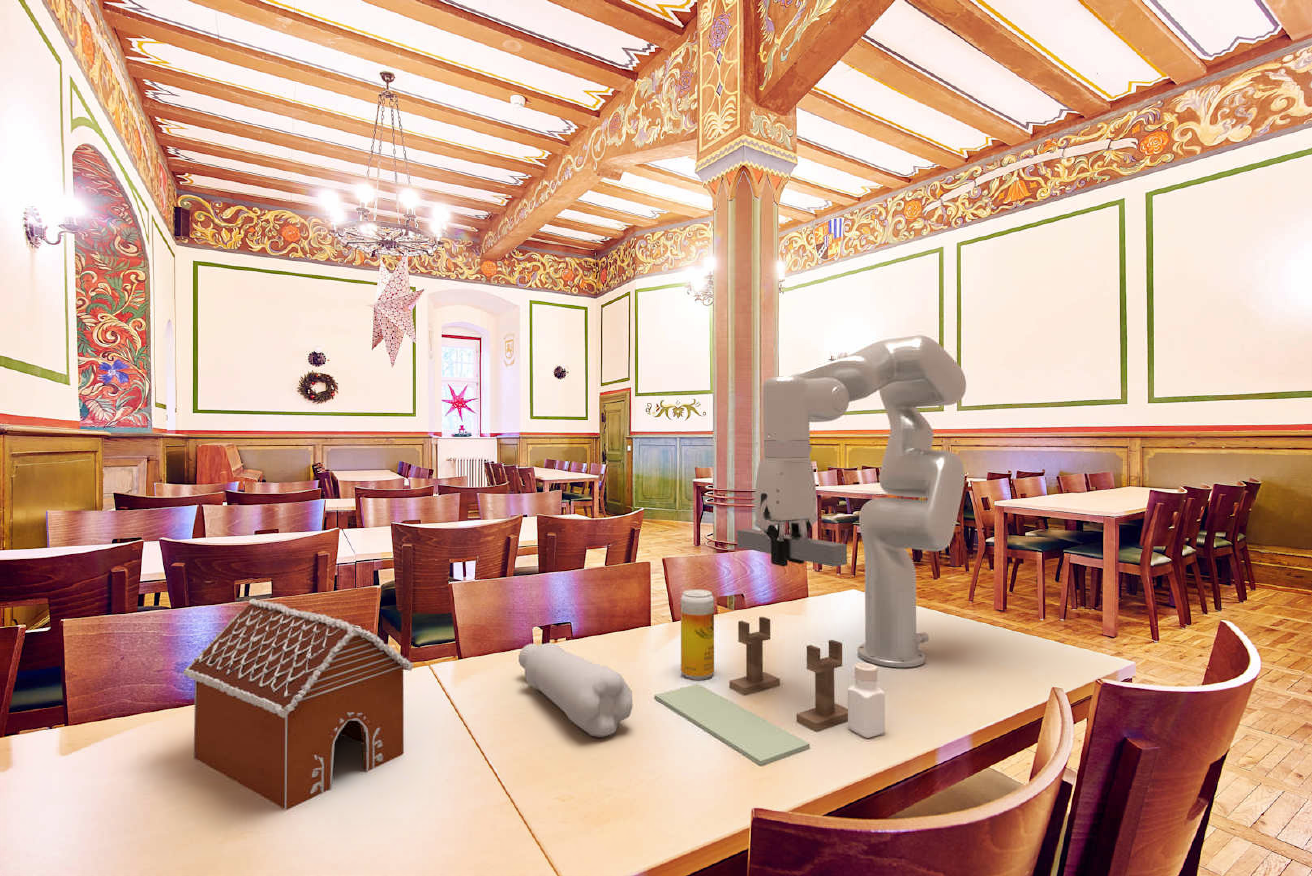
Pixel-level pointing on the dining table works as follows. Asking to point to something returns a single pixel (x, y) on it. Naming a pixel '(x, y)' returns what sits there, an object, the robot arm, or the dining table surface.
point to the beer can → (697, 634)
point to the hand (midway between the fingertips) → (787, 562)
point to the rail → (796, 547)
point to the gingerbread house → (294, 700)
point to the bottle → (578, 687)
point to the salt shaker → (866, 702)
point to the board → (733, 724)
